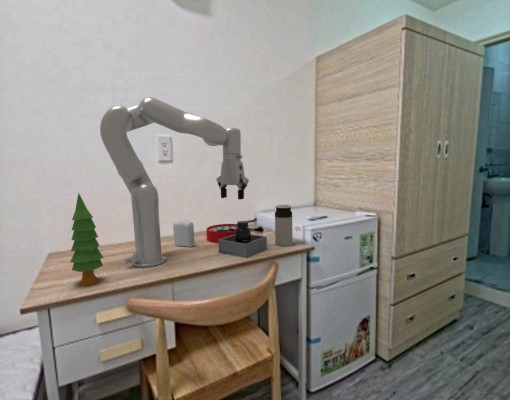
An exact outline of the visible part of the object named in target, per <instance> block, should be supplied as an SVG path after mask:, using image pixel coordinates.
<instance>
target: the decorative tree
mask: <svg viewBox="0 0 510 400" xmlns="http://www.w3.org/2000/svg"><path fill="white" fill-rule="evenodd" d="M93 218H94V217H93V215H92V214H91V212H90V211H89V210H88V208H87V205H86V204H85V203H84V200H83V199H82V196H81V194H80V192H78V194H77V199H76V205H75V210H74V213H73V216H72V219H71V221H73V223H72V227H71V231H73V233H72V237H71V241H74V242H73V244H72V247H71V249H70V252H74V253H73V255H72V256H71V257H72V258H71V259H70V261H69V262H70V263H73V265H72V269H71V271H74V272H78V273H82V275H81V280H80V282H79V285H80V286H82V287H83V286H92V285H95V284H96V283H98V282H99V281H100V278H98V277H97V276H96V274H95V270H97V269H99V268H101V267H103V266H104V265H103V262H102V261H101V259H104V256H103V254H102V252H101V251H100V250H99V249H98V248H99V246H100V243H99V242H98V240H97V238H99V236H98V234H97V232H96V230H95V229H96V228H97V227H96V225H95V222H94V221H93Z"/></svg>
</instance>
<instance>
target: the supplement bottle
mask: <svg viewBox="0 0 510 400" xmlns="http://www.w3.org/2000/svg"><path fill="white" fill-rule="evenodd" d="M236 224H237V226H238V227H237V228H236V229H235V242H238V243H244V244H246V243H249V242H251V234H252V233H251V232H252V231H251V228H250V227H249V221H247V220H239V221H237V223H236Z"/></svg>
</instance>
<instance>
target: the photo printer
mask: <svg viewBox="0 0 510 400" xmlns="http://www.w3.org/2000/svg"><path fill="white" fill-rule="evenodd" d="M194 225H195V224H194V223H193V222H192V221H191V220H188V219H178V220H176V221H174V222H173V225H172V227H173V241H174V245H175V246H179V247H189V248H192V247H194V246H195V228H194Z"/></svg>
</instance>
